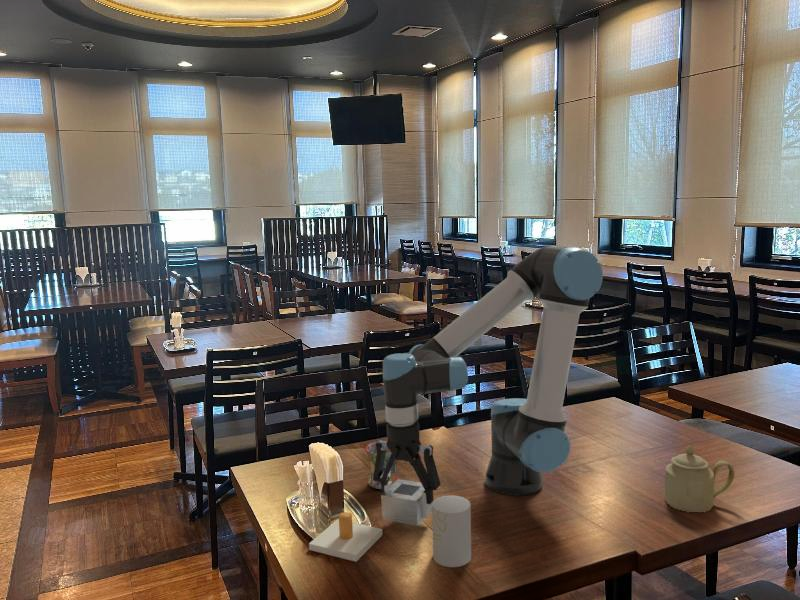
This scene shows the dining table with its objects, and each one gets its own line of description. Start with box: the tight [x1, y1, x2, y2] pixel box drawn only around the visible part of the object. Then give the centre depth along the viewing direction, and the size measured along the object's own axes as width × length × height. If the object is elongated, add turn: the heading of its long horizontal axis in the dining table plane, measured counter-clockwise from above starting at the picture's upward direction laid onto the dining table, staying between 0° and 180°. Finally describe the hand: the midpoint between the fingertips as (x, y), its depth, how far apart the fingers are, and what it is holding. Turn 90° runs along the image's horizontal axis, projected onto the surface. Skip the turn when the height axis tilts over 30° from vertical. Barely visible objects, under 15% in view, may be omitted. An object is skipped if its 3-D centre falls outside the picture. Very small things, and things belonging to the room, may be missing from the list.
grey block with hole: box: [380, 479, 432, 527], centre depth 149 cm, size 9×9×6 cm
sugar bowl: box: [664, 444, 735, 513], centre depth 157 cm, size 15×11×15 cm
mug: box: [365, 441, 399, 490], centre depth 173 cm, size 12×9×11 cm
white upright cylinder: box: [431, 494, 472, 568], centre depth 136 cm, size 8×8×12 cm
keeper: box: [308, 511, 383, 563], centre depth 143 cm, size 12×12×6 cm
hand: (408, 512), depth 150 cm, fingers closed on grey block with hole, 9 cm apart
